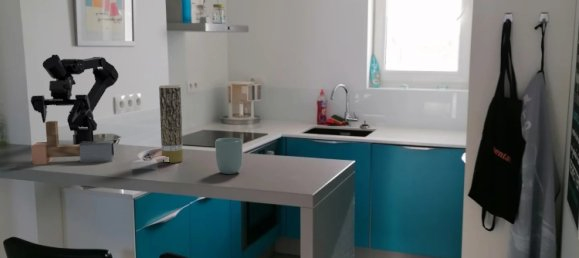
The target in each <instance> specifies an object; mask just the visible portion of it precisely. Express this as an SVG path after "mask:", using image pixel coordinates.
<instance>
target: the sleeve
mask: <svg viewBox="0 0 579 258" xmlns="http://www.w3.org/2000/svg"><path fill="white" fill-rule="evenodd" d="M79 146H80V156H79V158H80V163H105V162H109V163H110V162H113V161H114V159H115V147H114V146H115V144H114V140H94V141H83V142H81V143H80V144H79Z"/></svg>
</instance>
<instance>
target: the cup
mask: <svg viewBox="0 0 579 258" xmlns="http://www.w3.org/2000/svg"><path fill="white" fill-rule="evenodd" d="M214 145H215V148H214V149H215V162H216V167H217V170H218V172H220V173H222V174H223V175H224V174H225V175H233V174H237V173H239V172H240V170H241V169H242V166H243V159H244V158H243V157H244V155H243V154H244V151H243V150H244V149H243V139H242V138H239V137H223V138H222V137H221V138H217V139H216V140H215V143H214Z"/></svg>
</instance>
